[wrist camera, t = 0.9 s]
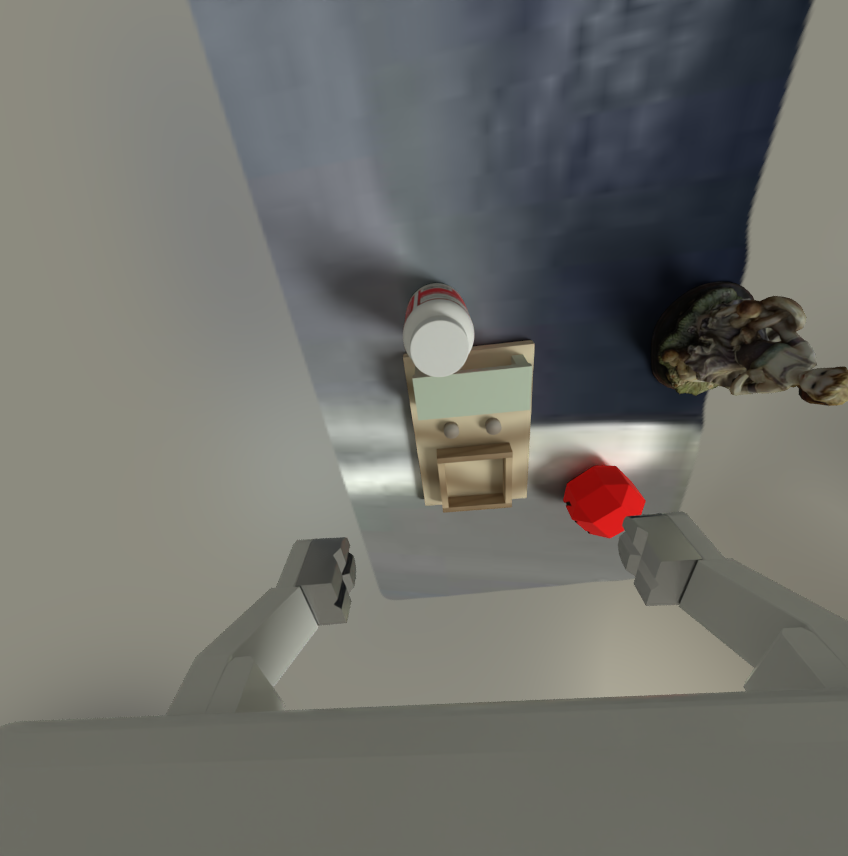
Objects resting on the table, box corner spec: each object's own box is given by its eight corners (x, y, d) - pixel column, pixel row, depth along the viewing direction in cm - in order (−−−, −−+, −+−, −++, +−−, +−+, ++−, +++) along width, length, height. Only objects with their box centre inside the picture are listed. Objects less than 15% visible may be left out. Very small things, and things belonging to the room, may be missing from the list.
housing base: (403, 353, 40) (401, 364, 37) (531, 340, 39) (539, 350, 36) (425, 499, 51) (425, 516, 49) (524, 491, 50) (530, 508, 48)
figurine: (679, 274, 35) (821, 314, 23) (781, 289, 36) (974, 337, 23) (627, 382, 42) (715, 462, 29) (715, 394, 42) (838, 476, 30)
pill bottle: (430, 353, 40) (432, 399, 30) (394, 308, 37) (383, 344, 28) (477, 317, 38) (494, 356, 28) (442, 268, 35) (447, 292, 26)
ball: (549, 481, 49) (567, 523, 43) (600, 447, 46) (628, 487, 40) (582, 510, 52) (604, 553, 46) (632, 479, 49) (663, 521, 43)
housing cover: (413, 365, 39) (412, 378, 36) (524, 354, 38) (532, 366, 35) (418, 405, 42) (418, 420, 39) (523, 395, 41) (530, 409, 38)
